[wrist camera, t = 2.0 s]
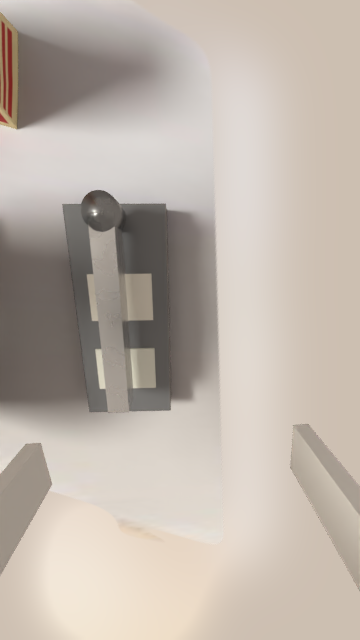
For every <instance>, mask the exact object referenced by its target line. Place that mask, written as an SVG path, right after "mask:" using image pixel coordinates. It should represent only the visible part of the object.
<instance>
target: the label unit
mask: <svg viewBox="0 0 360 640" xmlns="http://www.w3.org/2000/svg"><path fill="white" fill-rule="evenodd" d="M62 205H63V213H64V220H65V228H66V236H67V243H68V251H69V259H70V266H71V274H72V281H73V289H74V297H75V304H76V312H77V320H78V327H79V335H80V343H81V350H82V358H83V366H84V373H85V381H86V389H87V396H88V404H89V412H108V407H107V398H106V388H105V379H104V369H103V360H102V351H101V341H100V332H99V322H98V313H97V304H96V294H95V285H94V275H93V266H92V257H91V247H90V238H89V228H88V225H87V224H86V223H85V222H84V220H83V218H82V215H81V204H62ZM120 205H121V206H122V208H123V209H124V211H125V214H126V224H125V227H124V229H123V230H122V238H123V253H124V267H125V281H126V295H127V309H128V323H129V337H130V351H131V365H132V380H133V394H134V398H133V401H132V404H131V408H130V411H162V410H171V381H170V337H169V293H168V248H167V209H166V204H120Z"/></svg>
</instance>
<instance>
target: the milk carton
mask: <svg viewBox="0 0 360 640" xmlns="http://www.w3.org/2000/svg"><path fill="white" fill-rule="evenodd" d="M17 112H18V31H17V30H16V29H15V28H14V27H13V26H12V25H11V23H10V22H9V21H8V20H7V19H6V18H5V17H4V16H3V14H2V13H1V12H0V124H1V125H4V126H8V127H11V128H14V129H17Z"/></svg>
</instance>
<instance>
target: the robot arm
mask: <svg viewBox="0 0 360 640" xmlns="http://www.w3.org/2000/svg"><path fill="white" fill-rule="evenodd" d="M291 469H292V471H293V473H294V475H295V476H296V478H297V480H298V482H299V484H300V486H301V487H302V489H303V491H304V492H305V494H306V496H307V498H308V500H309V502H310V503H311V505H312V507H313V509H314V510H315V512H316V514H317V516H318V518H319V519H320V521H321V523H322V525H323V526H324V528H325V530H326V532H327V534H328V535H329V537H330V539H331V540H332V542H333V544H334V546H335V548H336V549H337V551H338V553H339V555H340V557H341V558H342V560H343V562H344V564H345V565H346V567H347V569H348V571H349V572H350V574H351V576H352V578H353V580H354V582H355V583H356V585H357V587H358V589H359V590H360V486H359V485H358V484H357V482H356V481H355V480H354V479H353V478H352V476H351V475H350V474H349V473H348V471H347V470H346V469H345V468H344V467H343V466H342V464H341V463H340V462H339V461H338V460H337V458H336V457H335V456H334V455H333V453H332V452H331V451H330V450H329V449H328V448H327V446H326V445H325V444H324V443H323V441H322V440H321V439H320V438H319V437H318V435H317V434H316V433H315V432H314V430H313V429H312V428H311V427H310V426H309V424H302V425H293V439H292V452H291ZM51 485H52V482H51V479H50V475H49V471H48V468H47V464H46V461H45V457H44V453H43V450H42V446H41V443H32V444H25V446H24V447H23V448H22V449H21V450H20V452H19V453H18V454H17V455H16V456H15V458H14V459H13V460H12V461H11V462H10V463H9V465H8V466H7V467H6V468H5V469H4V471H3V472H2V473H1V474H0V575H1V574H2V572H3V570H4V568H5V567H6V565H7V563H8V561H9V559H10V557H11V556H12V554H13V552H14V551H15V549H16V547H17V545H18V543H19V542H20V540H21V538H22V537H23V535H24V533H25V531H26V529H27V528H28V526H29V524H30V522H31V521H32V519H33V517H34V515H35V514H36V512H37V510H38V508H39V507H40V505H41V503H42V501H43V500H44V498H45V496H46V494H47V492H48V491H49V489H50V487H51Z"/></svg>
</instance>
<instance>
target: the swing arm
mask: <svg viewBox="0 0 360 640" xmlns="http://www.w3.org/2000/svg"><path fill="white" fill-rule="evenodd" d="M81 215H82V218H83V220H84V222H85V223H86V224H87V225H88V228H89V238H90V247H91V257H92V266H93V275H94V285H95V294H96V304H97V313H98V322H99V332H100V341H101V351H102V360H103V369H104V379H105V388H106V398H107V407H108V413H113V412H129V411H130V408H131V404H132V401H133V398H134V394H133V380H132V365H131V351H130V337H129V323H128V309H127V295H126V281H125V267H124V253H123V238H122V230H123V229H124V227H125V224H126V214H125V211H124V209H123V208H122V206H121V205H120V204H119V203H118V202H117V201H116V200H115V199H114V198H113V197H112V196H111V195H110V194H109V193H107V192H105V191H101V190H95V191H92V192H90V193H88V194H87V195H86V196H85V197H84V199H83V201H82V203H81Z"/></svg>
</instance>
